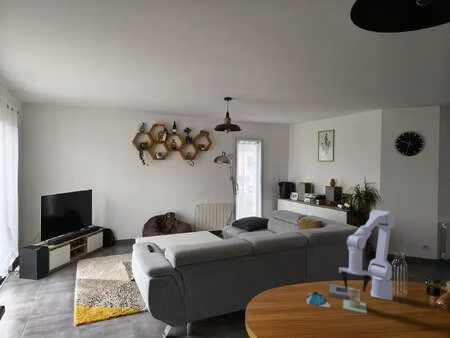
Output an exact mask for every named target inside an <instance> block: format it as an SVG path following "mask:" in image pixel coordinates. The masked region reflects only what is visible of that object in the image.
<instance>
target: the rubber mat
mask: <svg viewBox="0 0 450 338" xmlns="http://www.w3.org/2000/svg"><path fill="white" fill-rule="evenodd" d="M342 301H343V303H342V309H343V310H345V311H352V312H355V313H361V314H366V315H367V314H368V310H367V303H365V302H361V301H360V308H354V307H349V303H350V300H348V299H343V300H342Z"/></svg>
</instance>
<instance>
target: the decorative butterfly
mask: <svg viewBox="0 0 450 338" xmlns="http://www.w3.org/2000/svg"><path fill="white" fill-rule="evenodd" d="M304 300H305V302H306V304H307V305H309V306H314V307H315V306H317V307H325V308H331V304H330V303H329V302H328V301H327V300H326V299H325V297H324V295H323V294H321V293H318V291H315V292H310V293H307V294H306V296H305V297H304Z"/></svg>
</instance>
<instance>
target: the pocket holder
mask: <svg viewBox="0 0 450 338" xmlns="http://www.w3.org/2000/svg"><path fill="white" fill-rule="evenodd" d="M350 288H351V289H355V287H353V286H347V289H345V285H342V284H341V285H340V284H335V283H330V284H329V291H328V297H333V298H336V299H337V298H339V299H344V300H350Z"/></svg>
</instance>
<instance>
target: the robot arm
mask: <svg viewBox="0 0 450 338" xmlns="http://www.w3.org/2000/svg"><path fill="white" fill-rule="evenodd" d="M394 224H395V214H394V213H393V211H386V210H380V209H379V210H378V209H372V210H371V211H370V212H369V219H368V220H367V221H366V223H365V224H364V225H361V226H359V228H358V229H357V230H356V231H355V232H354V233H353V234H351V235H349V236H348V237H347V239H346V245H347V250H348V267H338V273H340V275H341V278H342V281H343V283H344V286H345V289H347V287H348V277H347V276H348V274H350V275H355V276H356V275H357V276H363V287H362V292H363V293H365V292H366V289H367V285H368V284H369V282H370V280H371V290H370V297H372V298H377V299H381V300H388V301H393V300H394V299H393V293H394V292H393V280H392V277H393V271H392V270H393V269H392V267H393V266H392V265H391V264H390V262H389V261H388V260H387V258H388V252H389V245H390V244H389V243H390V237H391V236H390V235H391V229H393V228H394V226H395V225H394ZM376 226H377V227H378V228H379V229H378V235H377V236H378V238H377V244H376V245H377V246H376V253H375V258H373V259H371V260H370V261H369V265H368V269H367V270H364V269H363V250H364V248H365V246H366V244H367V240H368V238H369V237H370V236H371V235H372V230H374V228H375V227H376Z"/></svg>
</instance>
